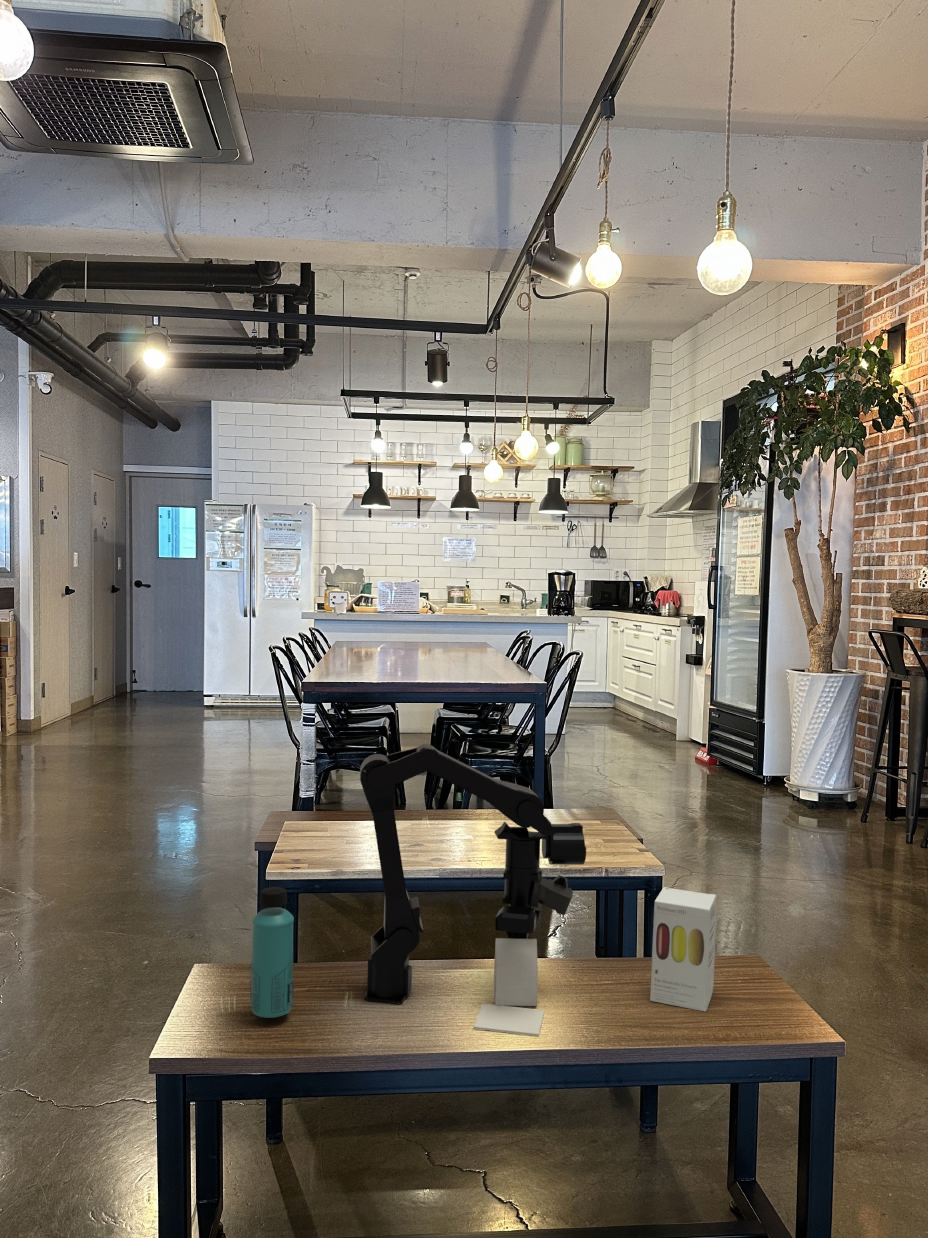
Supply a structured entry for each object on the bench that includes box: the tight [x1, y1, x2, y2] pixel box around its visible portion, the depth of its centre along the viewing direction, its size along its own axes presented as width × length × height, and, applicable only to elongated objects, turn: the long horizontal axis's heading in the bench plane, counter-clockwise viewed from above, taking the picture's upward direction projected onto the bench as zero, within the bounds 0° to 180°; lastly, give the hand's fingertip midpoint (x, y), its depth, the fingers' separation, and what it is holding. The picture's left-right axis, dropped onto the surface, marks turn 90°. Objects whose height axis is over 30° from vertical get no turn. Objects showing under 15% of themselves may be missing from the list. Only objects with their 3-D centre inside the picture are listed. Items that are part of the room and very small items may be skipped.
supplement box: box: [649, 886, 718, 1012], centre depth 154 cm, size 10×9×17 cm
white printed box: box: [493, 937, 539, 1007], centre depth 149 cm, size 4×7×10 cm, turn 93°
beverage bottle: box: [249, 886, 295, 1018], centre depth 141 cm, size 6×7×20 cm
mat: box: [472, 1003, 545, 1037], centre depth 142 cm, size 10×8×1 cm
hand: (519, 957), depth 153 cm, fingers closed
